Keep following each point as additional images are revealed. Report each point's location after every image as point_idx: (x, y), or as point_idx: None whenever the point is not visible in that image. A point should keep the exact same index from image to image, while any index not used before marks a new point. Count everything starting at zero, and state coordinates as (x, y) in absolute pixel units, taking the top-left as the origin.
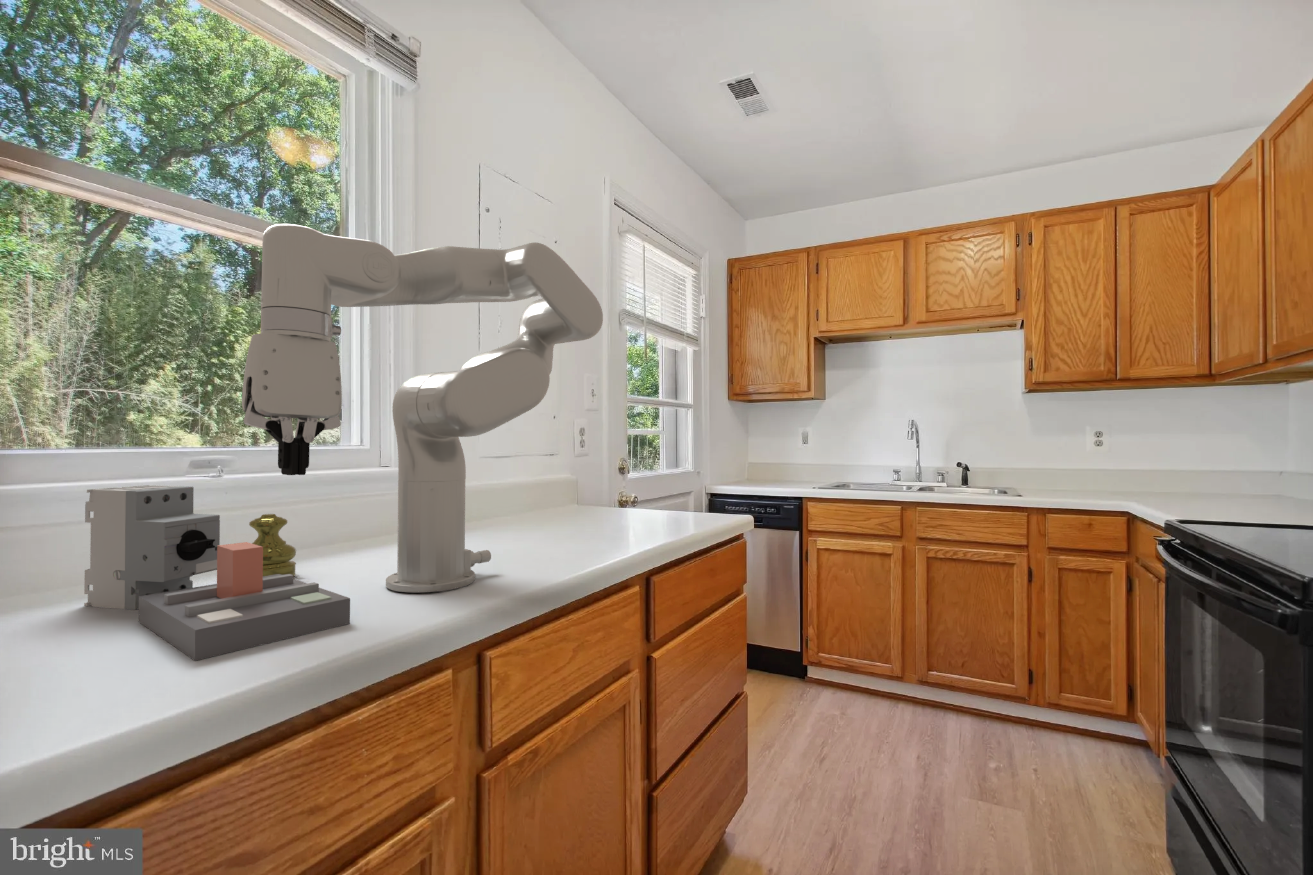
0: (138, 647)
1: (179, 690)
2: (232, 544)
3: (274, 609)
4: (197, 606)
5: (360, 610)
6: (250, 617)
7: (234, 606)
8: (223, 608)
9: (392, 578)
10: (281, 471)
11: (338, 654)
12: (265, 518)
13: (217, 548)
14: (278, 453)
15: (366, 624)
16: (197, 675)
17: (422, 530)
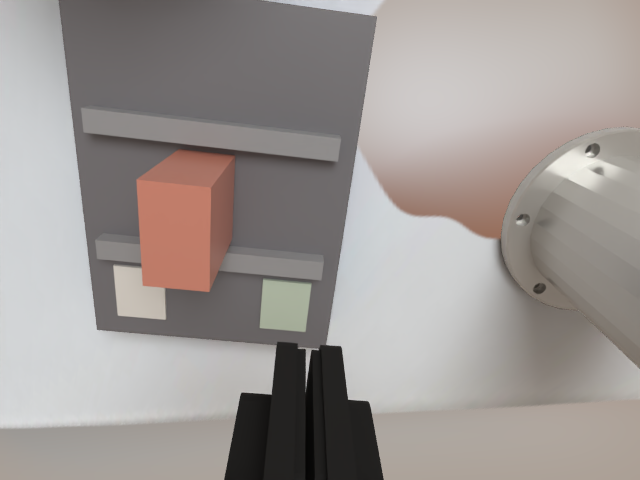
0: (67, 177)
1: (84, 377)
2: (170, 198)
3: (215, 318)
4: (111, 259)
5: (380, 274)
6: (173, 330)
7: None
8: None
9: (549, 181)
10: (277, 345)
11: None
12: None
13: (140, 178)
14: (229, 454)
15: (335, 342)
16: (107, 352)
17: (610, 335)
